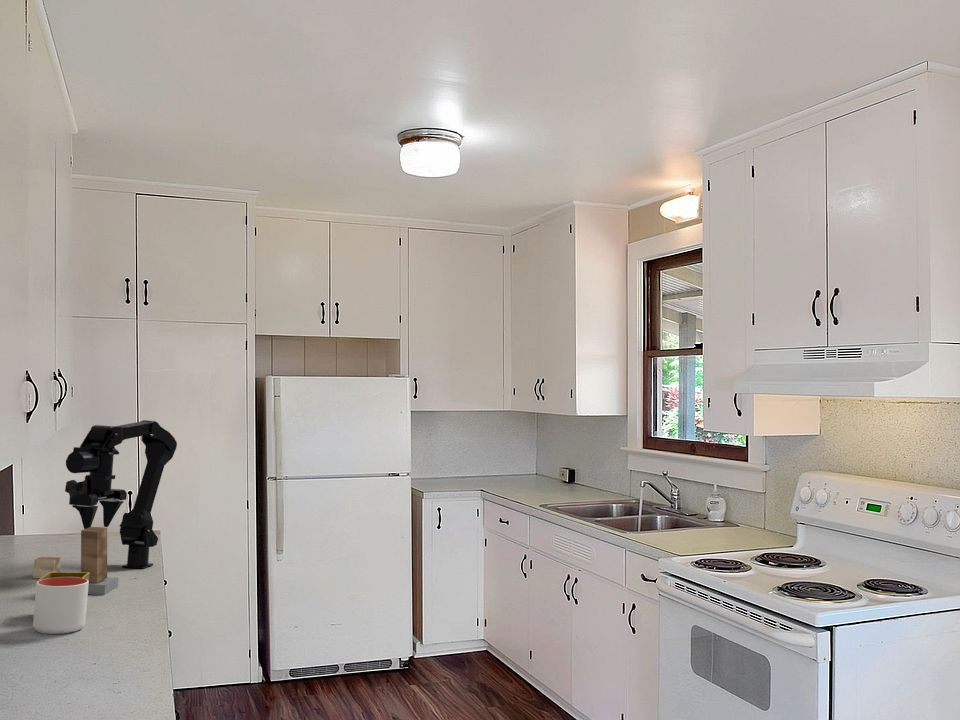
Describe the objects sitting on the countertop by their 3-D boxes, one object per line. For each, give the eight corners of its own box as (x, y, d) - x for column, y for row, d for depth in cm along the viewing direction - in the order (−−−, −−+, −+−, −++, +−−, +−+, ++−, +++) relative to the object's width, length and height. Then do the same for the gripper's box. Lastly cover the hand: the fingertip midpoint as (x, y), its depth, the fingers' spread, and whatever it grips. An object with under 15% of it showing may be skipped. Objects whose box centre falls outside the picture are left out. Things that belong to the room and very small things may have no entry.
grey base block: (82, 588, 224) (83, 576, 224) (117, 589, 224) (118, 577, 224) (67, 595, 215) (68, 583, 215) (104, 597, 215) (105, 585, 215)
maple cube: (39, 575, 235) (41, 556, 235) (59, 575, 235) (60, 557, 235) (32, 578, 230) (34, 559, 230) (52, 579, 230) (54, 560, 231)
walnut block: (91, 576, 222) (91, 526, 221) (107, 577, 221) (107, 527, 220) (81, 581, 217) (81, 530, 217) (97, 582, 217) (97, 531, 216)
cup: (21, 630, 180) (25, 581, 181) (64, 621, 189) (68, 574, 190) (53, 638, 176) (57, 588, 176) (95, 628, 184) (99, 581, 185)
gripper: (93, 467, 247) (88, 522, 246) (52, 471, 228) (47, 531, 227) (129, 470, 245) (125, 525, 244) (92, 474, 227) (87, 534, 226)
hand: (96, 528), depth 236 cm, fingers open, 9 cm apart
